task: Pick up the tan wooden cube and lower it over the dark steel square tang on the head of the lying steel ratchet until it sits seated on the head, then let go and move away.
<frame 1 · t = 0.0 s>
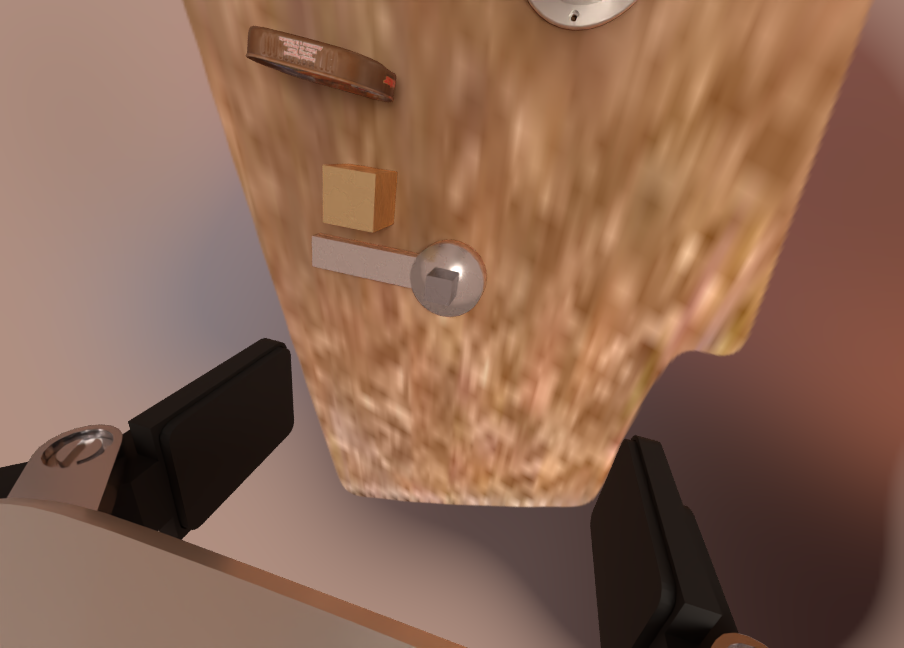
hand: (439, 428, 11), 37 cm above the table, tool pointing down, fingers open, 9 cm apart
tin: (344, 74, 42), on the table
ratchet: (451, 275, 48), on the table
tan wooden cube: (372, 194, 46), on the table
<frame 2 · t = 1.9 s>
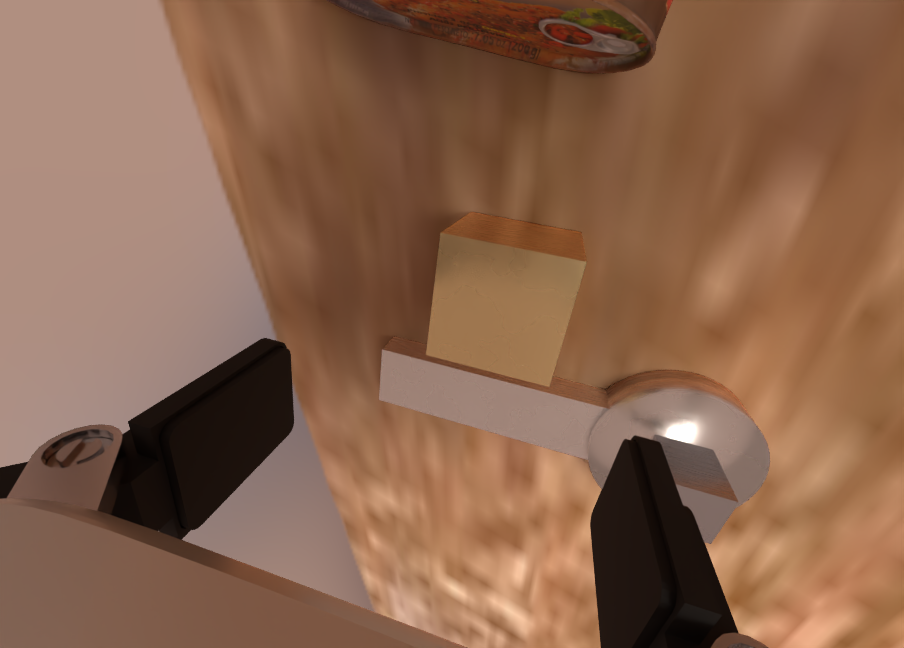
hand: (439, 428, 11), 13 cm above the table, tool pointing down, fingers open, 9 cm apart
tin: (481, 9, 18), on the table
ratchet: (663, 432, 24), on the table
tan wooden cube: (513, 274, 22), on the table
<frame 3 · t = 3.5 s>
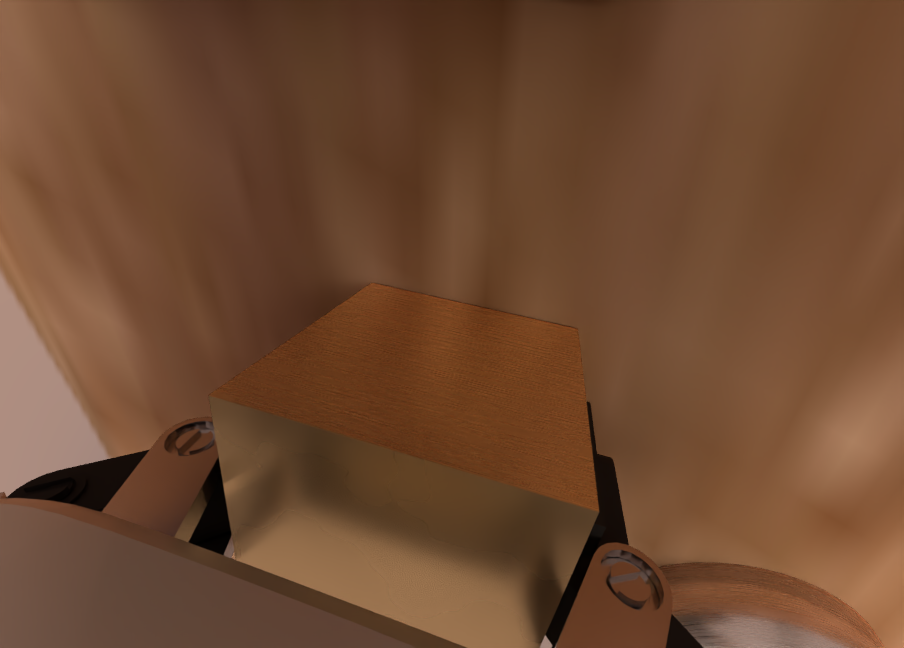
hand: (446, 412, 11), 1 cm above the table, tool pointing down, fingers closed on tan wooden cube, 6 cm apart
tan wooden cube: (455, 391, 12), on the table, touching gripper
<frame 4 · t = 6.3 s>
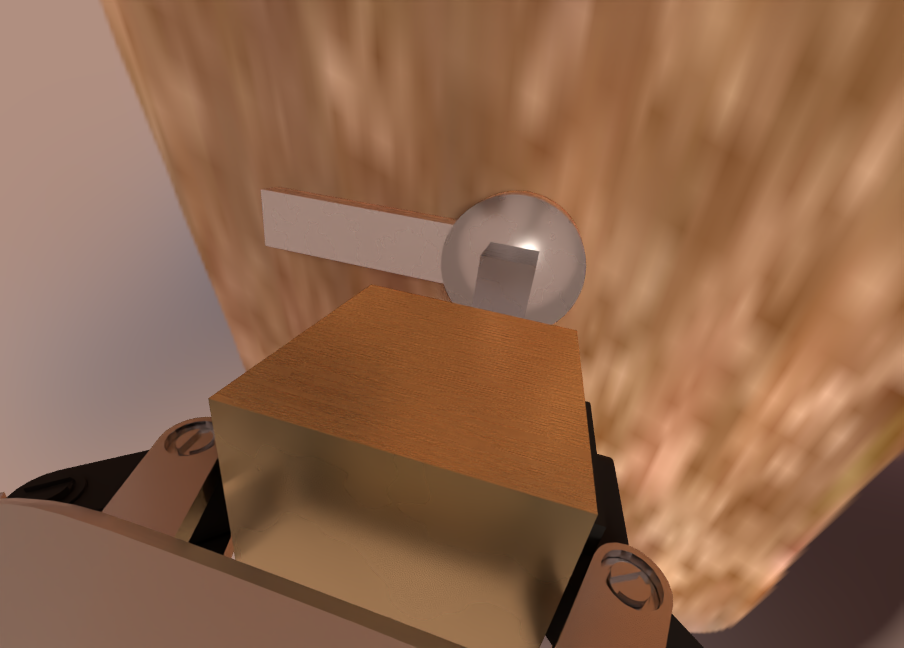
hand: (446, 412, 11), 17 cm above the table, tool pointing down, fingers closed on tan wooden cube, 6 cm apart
ratchet: (514, 260, 26), on the table
tan wooden cube: (454, 392, 12), point 16 cm above the table, touching gripper
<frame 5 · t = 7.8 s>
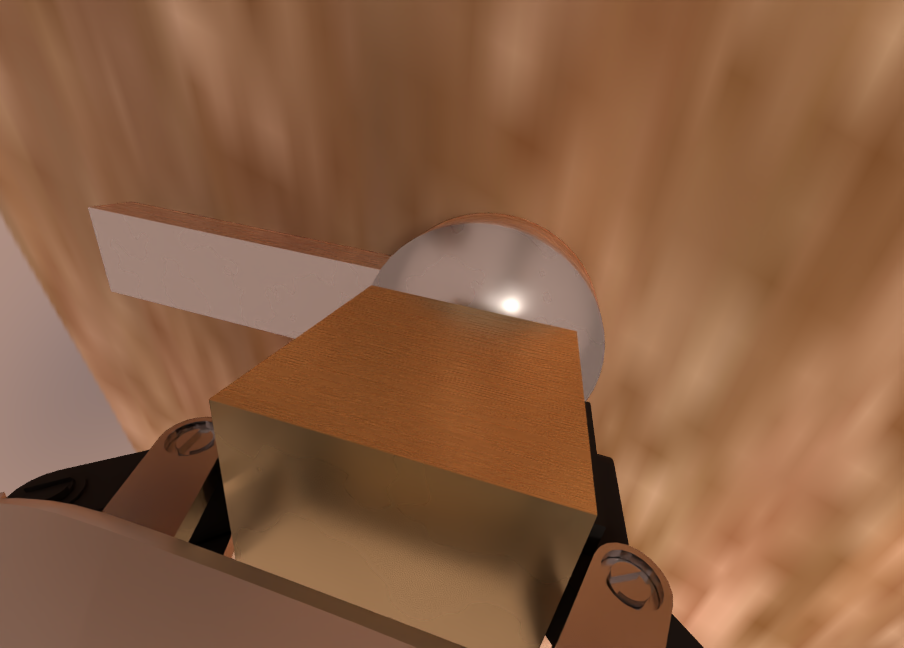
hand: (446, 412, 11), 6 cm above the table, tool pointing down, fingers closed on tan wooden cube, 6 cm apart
ratchet: (486, 320, 17), on the table
tan wooden cube: (454, 393, 12), point 5 cm above the table, touching gripper
when the fingers open (5 cm above the table, at t = 9.0 s): tan wooden cube stays where it is, resting on ratchet.
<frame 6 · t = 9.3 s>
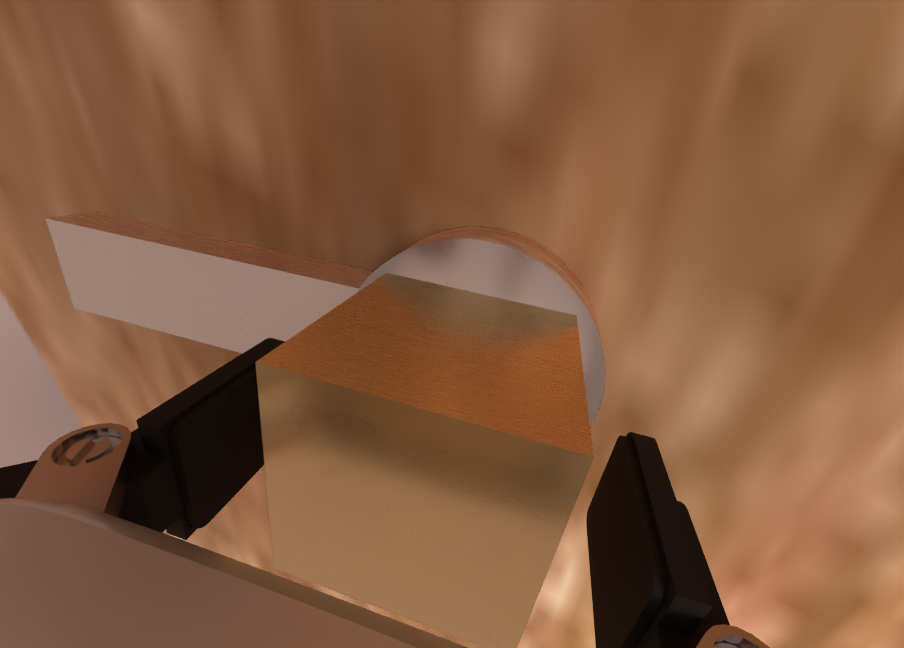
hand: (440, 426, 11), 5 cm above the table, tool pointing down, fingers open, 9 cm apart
ratchet: (477, 341, 15), on the table, touching tan wooden cube
tan wooden cube: (462, 374, 13), point 2 cm above the table, touching ratchet
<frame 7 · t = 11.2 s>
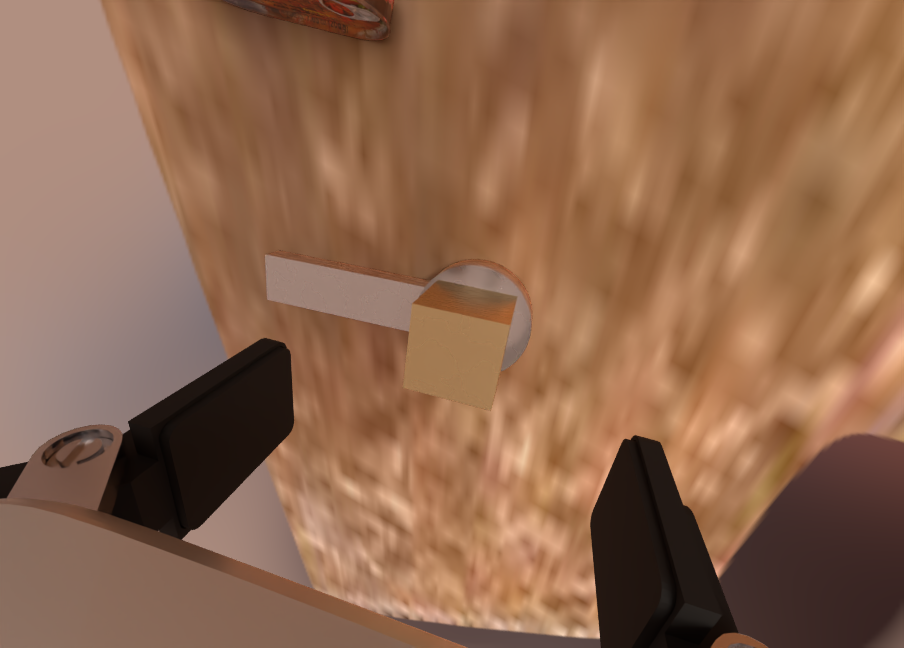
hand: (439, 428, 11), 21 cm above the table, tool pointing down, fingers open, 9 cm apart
tin: (312, 1, 27), on the table
ratchet: (476, 313, 32), on the table, touching tan wooden cube
tan wooden cube: (470, 325, 29), point 2 cm above the table, touching ratchet
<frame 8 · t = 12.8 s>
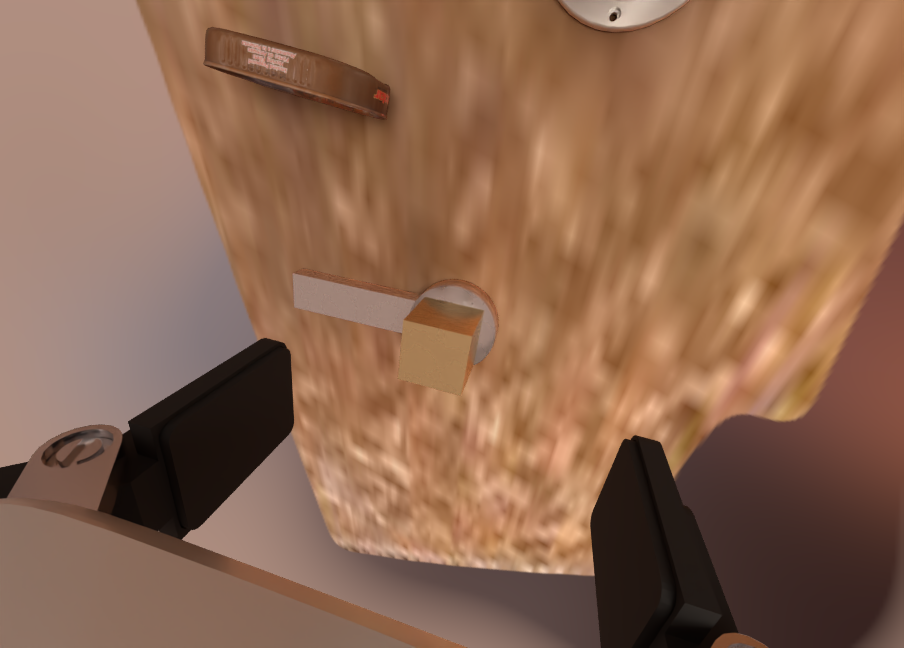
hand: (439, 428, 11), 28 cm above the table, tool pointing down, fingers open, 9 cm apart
tin: (328, 84, 35), on the table
ratchet: (456, 320, 41), on the table, touching tan wooden cube
tan wooden cube: (450, 330, 39), point 2 cm above the table, touching ratchet
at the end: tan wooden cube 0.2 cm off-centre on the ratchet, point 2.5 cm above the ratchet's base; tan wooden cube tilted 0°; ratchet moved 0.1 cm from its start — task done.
